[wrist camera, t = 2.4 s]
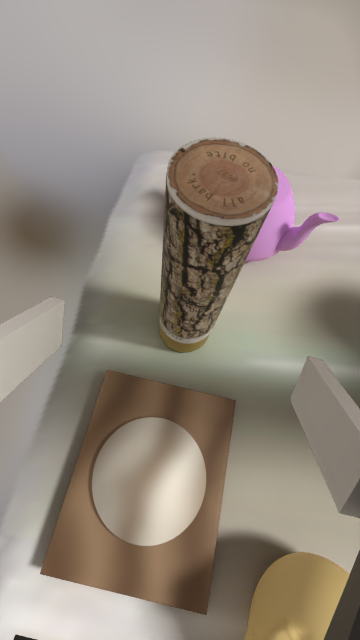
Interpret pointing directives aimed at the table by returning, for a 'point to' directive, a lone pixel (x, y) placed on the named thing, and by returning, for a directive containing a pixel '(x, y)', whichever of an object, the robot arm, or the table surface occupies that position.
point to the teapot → (284, 224)
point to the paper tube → (208, 232)
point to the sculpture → (296, 598)
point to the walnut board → (146, 494)
